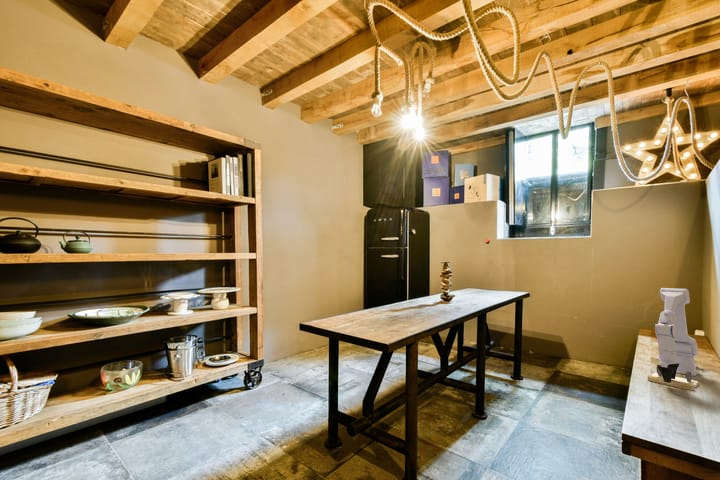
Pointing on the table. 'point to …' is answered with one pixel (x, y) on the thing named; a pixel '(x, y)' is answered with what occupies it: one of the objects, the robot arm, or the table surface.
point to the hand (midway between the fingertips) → (669, 380)
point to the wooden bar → (673, 383)
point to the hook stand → (687, 380)
